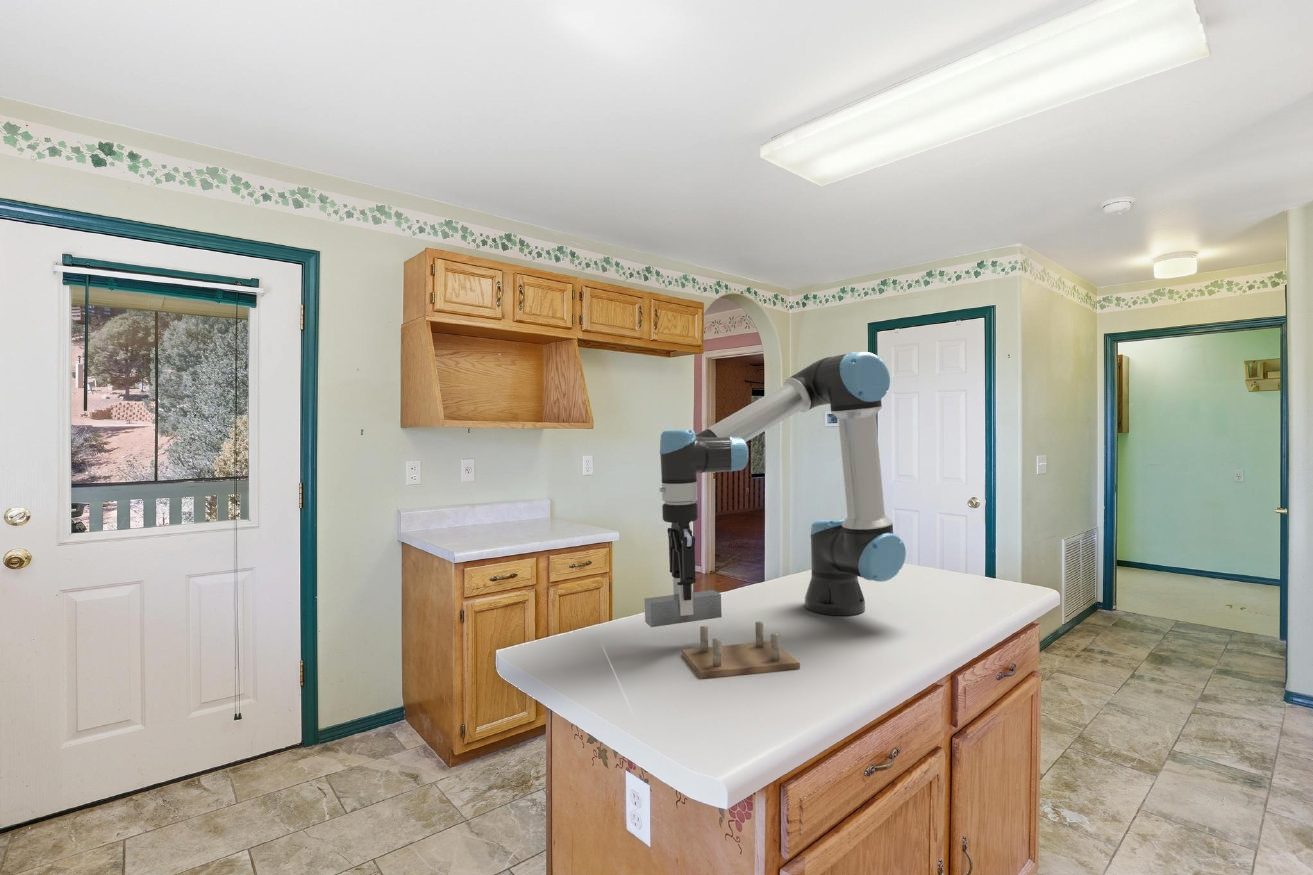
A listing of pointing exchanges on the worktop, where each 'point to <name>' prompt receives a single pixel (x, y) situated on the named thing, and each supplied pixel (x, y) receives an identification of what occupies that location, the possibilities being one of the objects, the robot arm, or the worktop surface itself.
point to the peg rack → (738, 656)
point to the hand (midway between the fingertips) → (683, 611)
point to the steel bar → (668, 608)
